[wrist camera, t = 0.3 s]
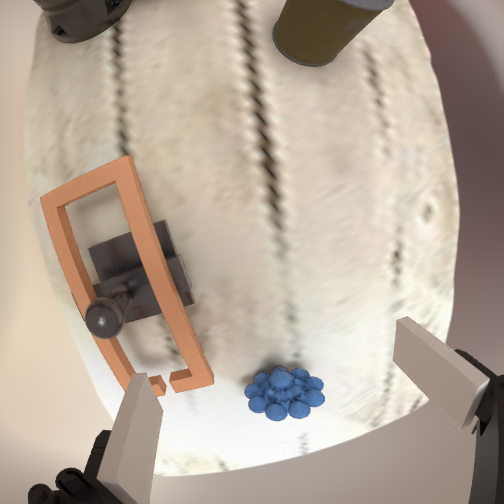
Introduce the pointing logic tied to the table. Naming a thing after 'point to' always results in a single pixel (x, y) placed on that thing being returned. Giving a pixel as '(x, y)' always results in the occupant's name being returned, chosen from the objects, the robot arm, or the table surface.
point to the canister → (322, 27)
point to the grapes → (285, 393)
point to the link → (152, 261)
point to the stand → (129, 283)
